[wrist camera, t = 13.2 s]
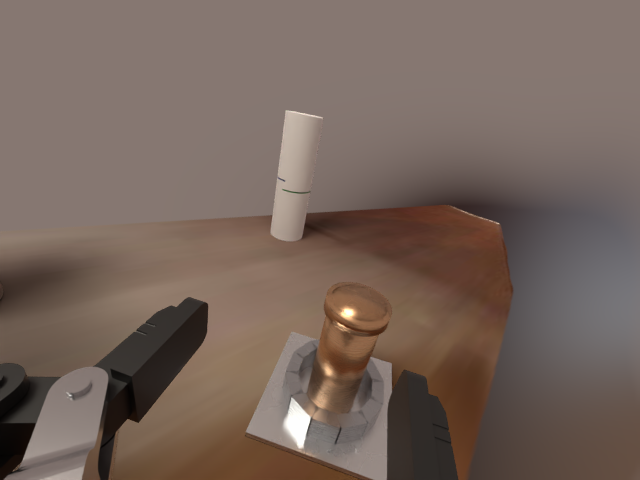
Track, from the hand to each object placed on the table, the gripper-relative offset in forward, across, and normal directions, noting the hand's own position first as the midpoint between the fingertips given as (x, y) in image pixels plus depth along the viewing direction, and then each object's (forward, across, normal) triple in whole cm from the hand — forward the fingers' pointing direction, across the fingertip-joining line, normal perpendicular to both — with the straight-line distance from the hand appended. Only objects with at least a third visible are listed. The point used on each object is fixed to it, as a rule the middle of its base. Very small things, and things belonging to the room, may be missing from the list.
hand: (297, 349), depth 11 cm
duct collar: (+12, -3, +19) cm, 23 cm away
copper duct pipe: (+12, -3, +18) cm, 22 cm away
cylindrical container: (+47, +14, +20) cm, 53 cm away
